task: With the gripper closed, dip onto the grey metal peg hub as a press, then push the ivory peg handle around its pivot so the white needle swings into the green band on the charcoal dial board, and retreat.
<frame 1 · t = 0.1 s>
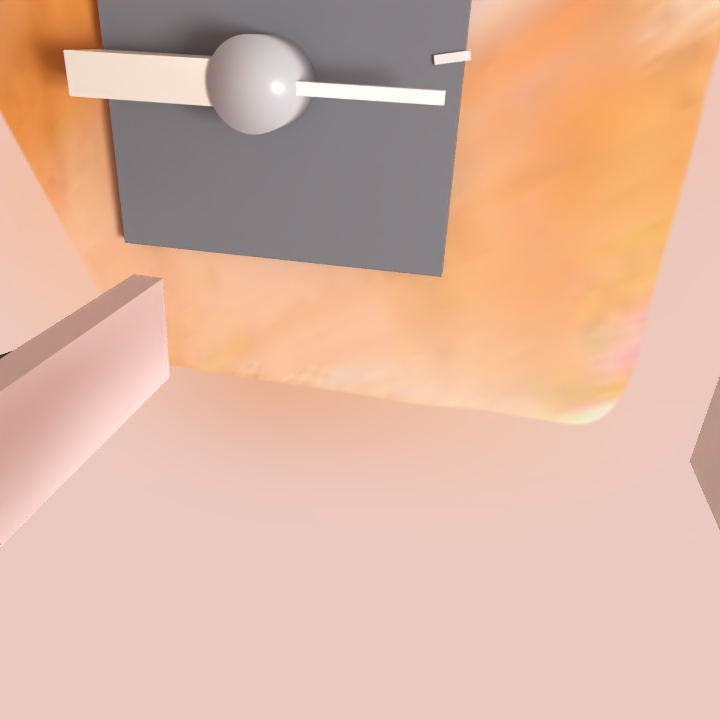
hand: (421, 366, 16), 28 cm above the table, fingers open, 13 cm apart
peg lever: (257, 83, 37), point 3 cm above the table, hinge at 0.0°
dial board: (280, 80, 40), on the table
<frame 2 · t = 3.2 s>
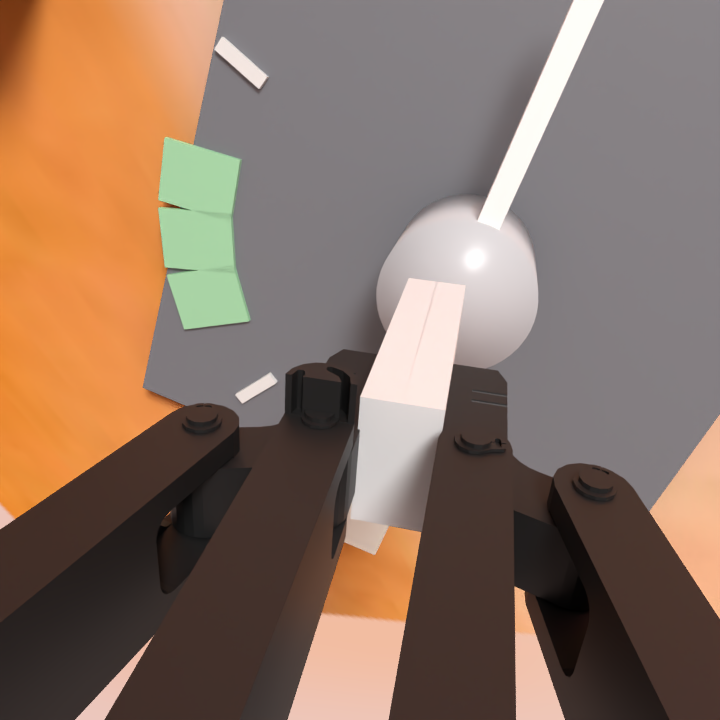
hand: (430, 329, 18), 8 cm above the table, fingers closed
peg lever: (456, 288, 22), point 3 cm above the table, hinge at 0.0°
dial board: (466, 253, 25), on the table
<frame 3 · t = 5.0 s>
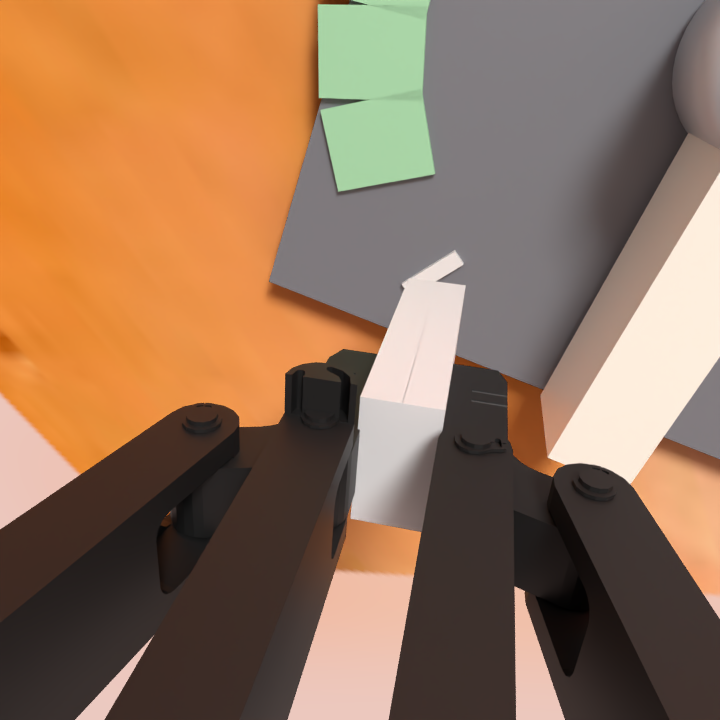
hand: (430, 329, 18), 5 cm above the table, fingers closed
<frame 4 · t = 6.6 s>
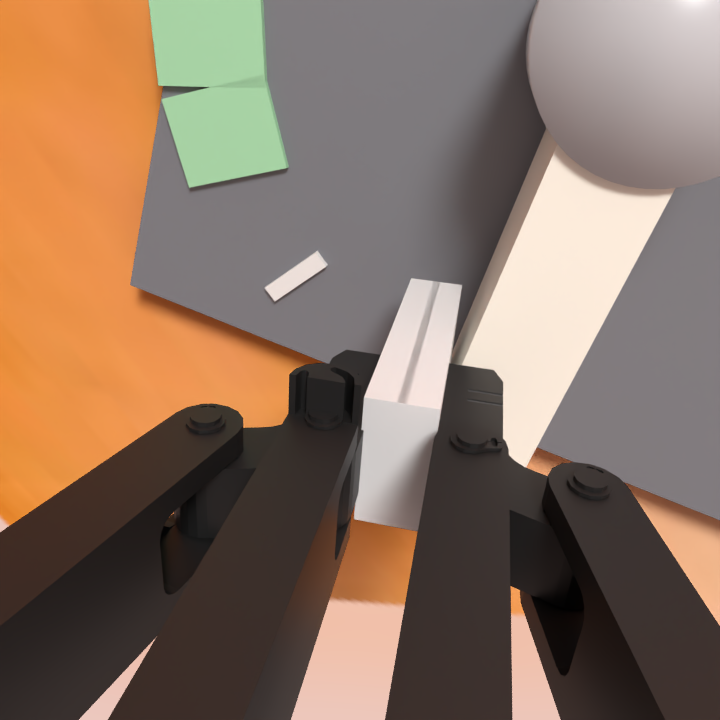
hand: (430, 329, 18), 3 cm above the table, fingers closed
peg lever: (648, 58, 13), point 3 cm above the table, hinge at 1.6°, touching gripper
dial board: (630, 41, 16), on the table
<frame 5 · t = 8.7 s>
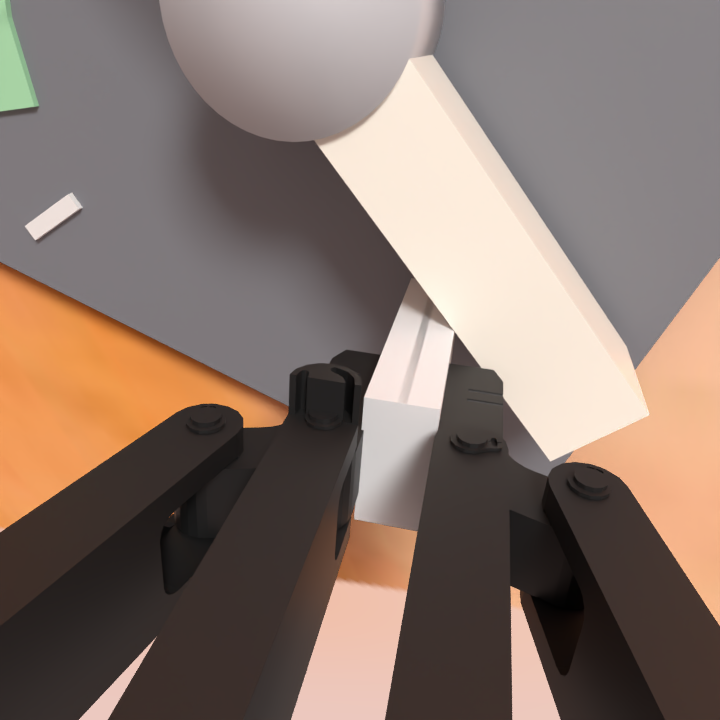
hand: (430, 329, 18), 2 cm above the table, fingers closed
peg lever: (323, 16, 14), point 3 cm above the table, hinge at 61.8°, touching gripper
dial board: (350, 10, 17), on the table
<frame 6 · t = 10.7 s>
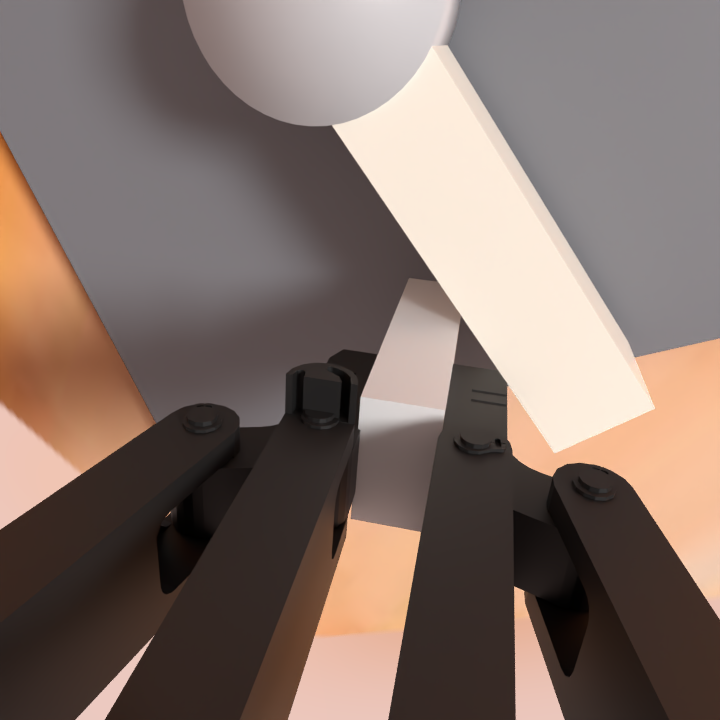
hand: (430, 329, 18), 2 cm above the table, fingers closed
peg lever: (342, 2, 14), point 3 cm above the table, hinge at 105.6°
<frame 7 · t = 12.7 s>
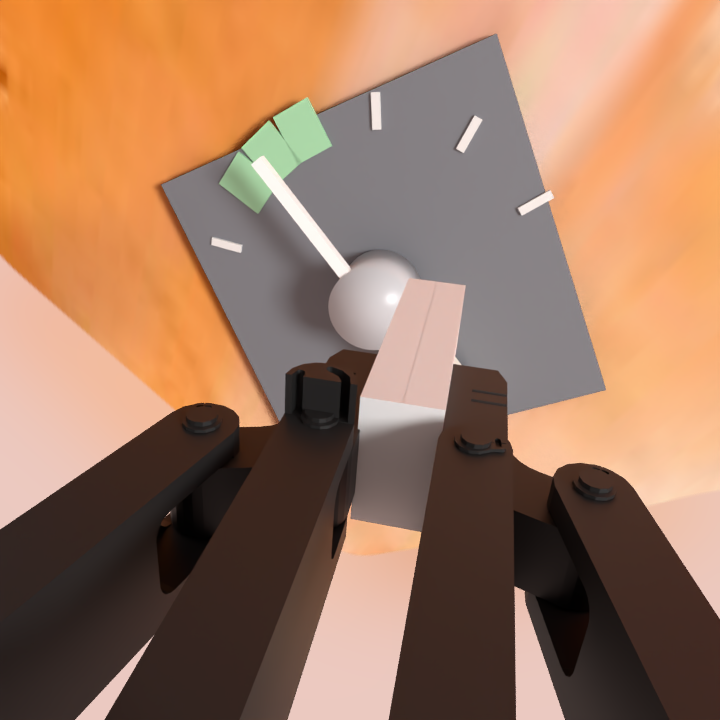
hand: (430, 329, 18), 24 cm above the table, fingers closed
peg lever: (379, 302, 40), point 3 cm above the table, hinge at 105.6°
dial board: (385, 282, 43), on the table
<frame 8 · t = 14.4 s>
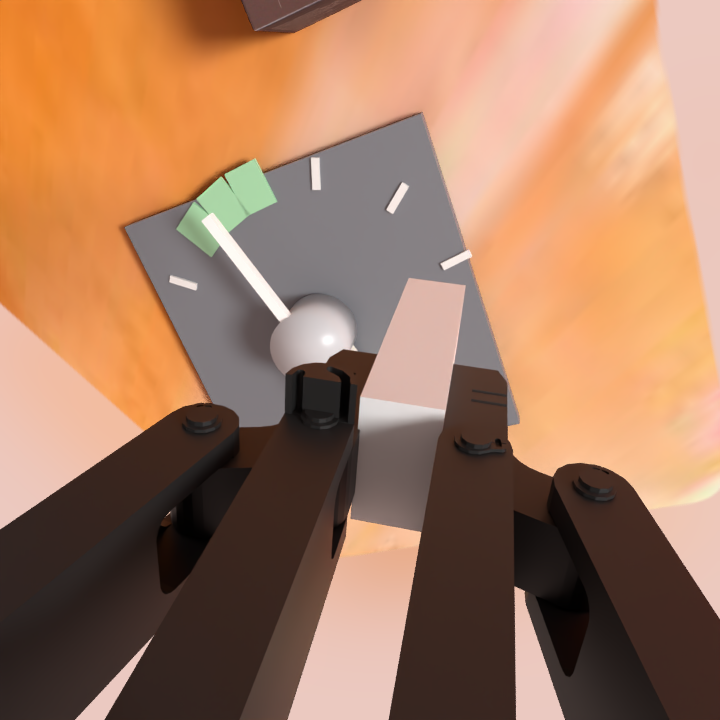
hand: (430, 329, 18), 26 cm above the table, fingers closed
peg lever: (317, 342, 45), point 3 cm above the table, hinge at 105.6°
dial board: (326, 320, 48), on the table
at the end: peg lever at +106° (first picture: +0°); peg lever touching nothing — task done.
